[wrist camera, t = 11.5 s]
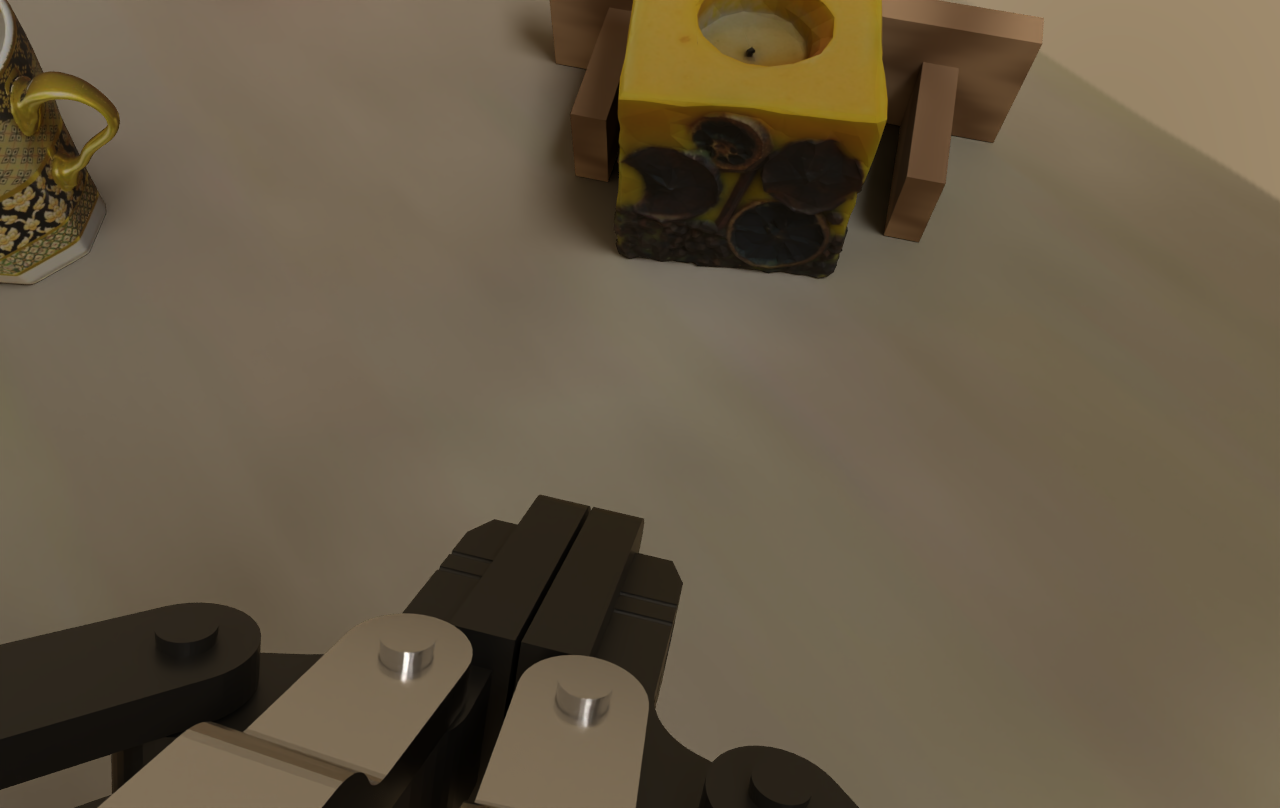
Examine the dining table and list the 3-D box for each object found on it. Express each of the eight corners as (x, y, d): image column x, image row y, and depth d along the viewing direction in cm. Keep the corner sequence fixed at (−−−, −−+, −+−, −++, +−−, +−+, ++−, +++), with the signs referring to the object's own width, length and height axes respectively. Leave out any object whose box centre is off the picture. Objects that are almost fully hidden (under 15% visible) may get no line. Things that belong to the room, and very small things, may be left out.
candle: (636, 95, 46) (636, -91, 37) (838, 112, 46) (888, -72, 37) (610, 262, 42) (604, 96, 33) (835, 283, 41) (891, 121, 32)
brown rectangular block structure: (995, 118, 45) (1043, 17, 40) (983, 254, 42) (1034, 163, 36) (564, 41, 48) (555, -64, 42) (516, 164, 44) (500, 66, 39)
